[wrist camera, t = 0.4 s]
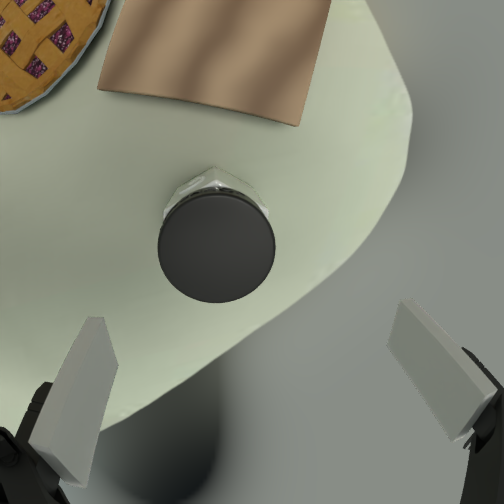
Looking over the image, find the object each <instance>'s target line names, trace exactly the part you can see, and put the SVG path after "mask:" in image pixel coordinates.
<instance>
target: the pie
mask: <svg viewBox="0 0 504 504" xmlns="http://www.w3.org/2000/svg"><path fill="white" fill-rule="evenodd" d="M110 1H111V0H0V114H17V113H18V112H20V111H22V110H23V109H25V108H26V107H28V106H29V105H31V104H33V103H34V102H36V101H37V100H39V99H41V98H43V97H44V96H46V95H47V94H48V93H49V92H50V91H51V90H52V89H53V87H54V86H55V85H56V84H57V83H58V82H59V81H60V80H61V79H62V78H63V77H64V76H65V75H66V74H67V73H68V72H69V71H70V70H71V69H72V68H73V67H74V66H75V65H76V64H77V63H78V61H79V59H80V58H81V56H82V55H83V53H84V51H85V50H86V48H87V47H88V45H89V44H90V42H91V41H92V39H93V38H94V37H95V35H96V34H97V32H98V31H99V29H100V28H101V27H102V24H103V21H104V18H105V15H106V12H107V10H108V7H109V4H110Z"/></svg>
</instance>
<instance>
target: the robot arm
mask: <svg viewBox="0 0 504 504" xmlns="http://www.w3.org/2000/svg"><path fill="white" fill-rule="evenodd" d="M387 347H388V349H389V350H390V352H391V353H392V354H393V356H394V357H395V358H396V360H397V361H398V363H399V364H400V366H401V367H402V369H403V370H404V371H405V373H406V374H407V376H408V377H409V378H410V380H411V382H412V383H413V385H414V386H415V387H416V389H417V390H418V392H419V393H420V395H421V396H422V398H423V399H424V401H425V402H426V404H427V405H428V407H429V408H430V410H431V411H432V413H433V414H434V416H435V418H436V419H437V421H438V422H439V424H440V425H441V427H442V428H443V430H444V431H445V433H446V435H447V436H448V438H449V439H450V441H451V442H452V443H453V442H455V441H457V440H458V439H461V438H462V437H464V436H465V435H466V434H467V433H468V432H469V430H470V429H471V428H473V429H474V430H475V432H474V433H473V434H472V436H471V437H470V438H469V439H468V440H467V442H466V443H465V444H464V447H463V448H464V449H465V448H466V447H467V446H468V445H469V443H470V442H471V446H470V447H469V450H470V454H469V461H468V466H467V472H466V478H465V483H464V488H463V493H462V497H461V501H460V504H504V388H503V387H502V386H501V385H500V383H499V382H498V381H497V380H496V379H495V378H494V376H493V375H492V374H491V373H490V372H489V371H488V370H487V369H486V368H484V365H483V364H482V363H481V362H479V360H478V359H477V358H476V357H475V355H474V354H473V353H471V352H470V351H468V350H467V349H465V348H464V347H462V348H460V346H459V345H458V344H457V343H456V342H455V341H454V340H453V339H452V338H451V337H450V336H449V335H448V334H447V333H446V332H445V331H444V330H443V329H442V328H441V327H440V326H439V325H438V323H437V322H436V321H435V320H434V319H433V318H432V317H431V316H430V315H429V314H428V313H427V312H426V311H425V310H424V309H423V308H422V307H420V305H419V304H418V303H417V302H416V301H415V300H414V299H413V298H410V299H403V300H400V301H399V304H398V308H397V312H396V316H395V320H394V323H393V326H392V330H391V333H390V336H389V339H388V343H387ZM117 369H118V363H117V360H116V357H115V354H114V350H113V347H112V344H111V341H110V338H109V334H108V331H107V327H106V324H105V320H104V317H88V318H87V319H86V321H85V323H84V325H83V327H82V328H81V330H80V332H79V334H78V336H77V338H76V339H75V341H74V343H73V345H72V347H71V349H70V351H69V353H68V355H67V357H66V359H65V361H64V363H63V365H62V367H61V369H60V371H59V373H58V375H57V377H56V379H55V381H54V383H50V382H44V383H43V384H42V385H41V386H40V387H39V388H38V389H37V390H36V392H35V394H34V396H33V398H32V400H31V401H32V402H31V403H30V404H29V406H28V411H26V413H25V415H24V417H23V420H22V422H21V424H20V426H19V429H18V431H17V433H16V436H15V438H14V436H13V435H12V434H11V433H10V431H8V430H7V429H6V428H4V427H0V504H70V503H69V501H68V499H67V498H66V496H65V494H64V492H63V490H62V489H61V487H60V486H59V485H58V484H59V480H60V478H61V479H62V480H63V481H64V482H66V483H67V484H68V485H72V486H76V487H81V488H85V489H86V488H87V483H88V478H89V473H90V469H91V464H92V460H93V456H94V451H95V447H96V443H97V439H98V435H99V431H100V427H101V423H102V420H103V416H104V412H105V409H106V405H107V402H108V398H109V395H110V391H111V388H112V385H113V381H114V378H115V375H116V372H117Z"/></svg>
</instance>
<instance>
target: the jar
mask: <svg viewBox="0 0 504 504" xmlns="http://www.w3.org/2000/svg"><path fill="white" fill-rule="evenodd" d="M268 217H269V210H268V208H267V207H266V206H265V204H264V203H263V201H262V200H261V199H260V197H259V196H258V194H257V193H256V192H255V190H254V189H253V187H251V186H249V185H248V184H246V183H244V182H242V181H241V180H239V179H237V178H236V177H234V176H232V175H230V174H229V173H227V172H225V171H223V170H222V169H220V168H218V167H216V166H214V167H212V168H211V169H209V170H207V171H205V172H204V173H202V174H200V175H198V176H197V177H195V178H193V179H192V180H190V181H188V182H187V183H185V184H183V185H182V186H180V187H178V188H177V189H176V191H175V193H174V194H173V196H172V198H171V199H170V201H169V203H168V204H167V206H166V207H165V209H164V211H163V225H162V227H161V229H160V233H159V238H158V258H159V262H160V266H161V268H162V270H163V272H164V274H165V276H166V277H167V279H168V280H169V282H170V283H171V284H172V285H173V286H174V287H175V288H176V289H177V290H179V291H180V292H181V293H183V294H185V295H186V296H188V297H190V298H193V299H195V300H198V301H202V302H207V303H225V302H230V301H234V300H237V299H240V298H242V297H244V296H246V295H248V294H249V293H251V292H252V291H254V290H255V289H256V288H257V287H258V286H259V285H260V284H261V283H262V282H263V281H264V280H265V278H266V277H267V275H268V274H269V272H270V270H271V268H272V265H273V262H274V258H275V250H276V246H275V237H274V233H273V230H272V227H271V225H270V223H269V221H268Z"/></svg>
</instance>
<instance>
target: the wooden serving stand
mask: <svg viewBox="0 0 504 504" xmlns="http://www.w3.org/2000/svg"><path fill="white" fill-rule="evenodd" d="M330 4H331V0H125V3H124V5H123V8H122V10H121V13H120V16H119V18H118V21H117V24H116V26H115V29H114V32H113V35H112V38H111V41H110V44H109V47H108V50H107V54H106V57H105V60H104V64H103V67H102V71H101V75H100V78H99V82H98V86H97V89H98V90H102V91H111V92H122V93H132V94H140V95H148V96H156V97H163V98H169V99H176V100H182V101H188V102H193V103H199V104H204V105H209V106H214V107H219V108H223V109H228V110H232V111H237V112H241V113H245V114H250V115H254V116H258V117H261V118H265V119H269V120H273V121H277V122H280V123H284V124H287V125H291V126H294V127H296V126H299V124H300V120H301V116H302V112H303V109H304V105H305V101H306V97H307V94H308V90H309V86H310V82H311V78H312V74H313V71H314V67H315V63H316V59H317V55H318V51H319V47H320V44H321V40H322V36H323V32H324V28H325V24H326V20H327V16H328V12H329V8H330Z"/></svg>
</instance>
